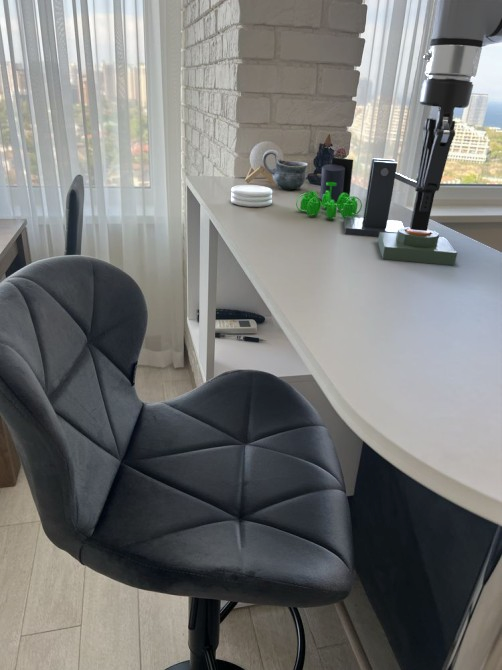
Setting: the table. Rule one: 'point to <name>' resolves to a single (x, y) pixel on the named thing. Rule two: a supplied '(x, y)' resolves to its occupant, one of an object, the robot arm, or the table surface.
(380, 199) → the switch bracket
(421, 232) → the stop button
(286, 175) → the mug
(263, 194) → the white stacked round discs
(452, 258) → the stop box
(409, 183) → the switch lever
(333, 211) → the chandelier
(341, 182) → the speaker
